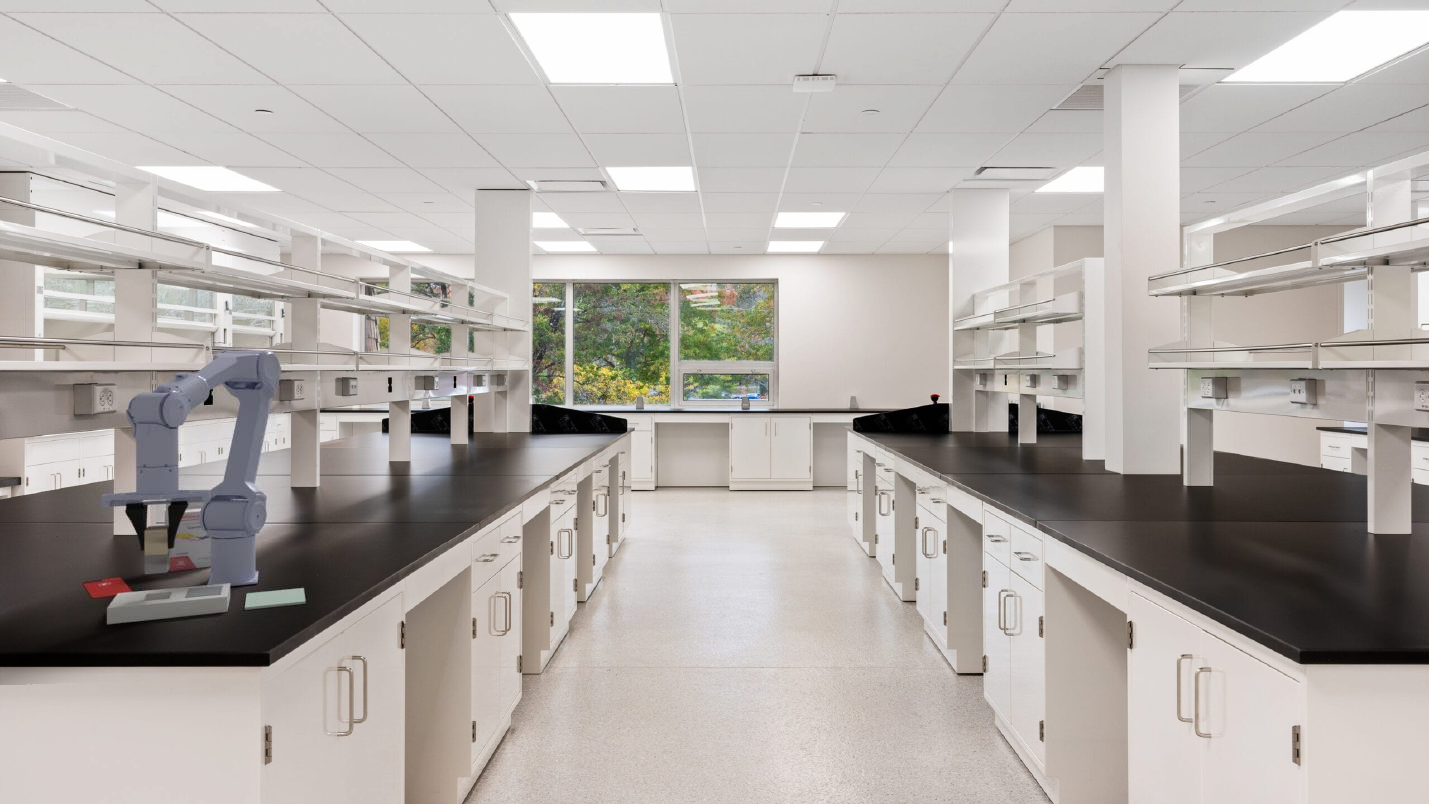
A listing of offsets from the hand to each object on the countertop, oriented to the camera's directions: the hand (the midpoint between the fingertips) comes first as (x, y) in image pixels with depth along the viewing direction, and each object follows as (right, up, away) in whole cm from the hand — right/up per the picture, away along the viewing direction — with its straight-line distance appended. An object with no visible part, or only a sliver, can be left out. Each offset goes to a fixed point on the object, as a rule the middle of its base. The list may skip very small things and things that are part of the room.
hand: (157, 548), depth 133 cm
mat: (+15, -10, +8) cm, 20 cm away
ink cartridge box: (-15, -10, +32) cm, 37 cm away
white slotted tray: (+2, -10, +1) cm, 11 cm away
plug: (0, -4, 0) cm, 4 cm away
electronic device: (-19, -10, +15) cm, 27 cm away
